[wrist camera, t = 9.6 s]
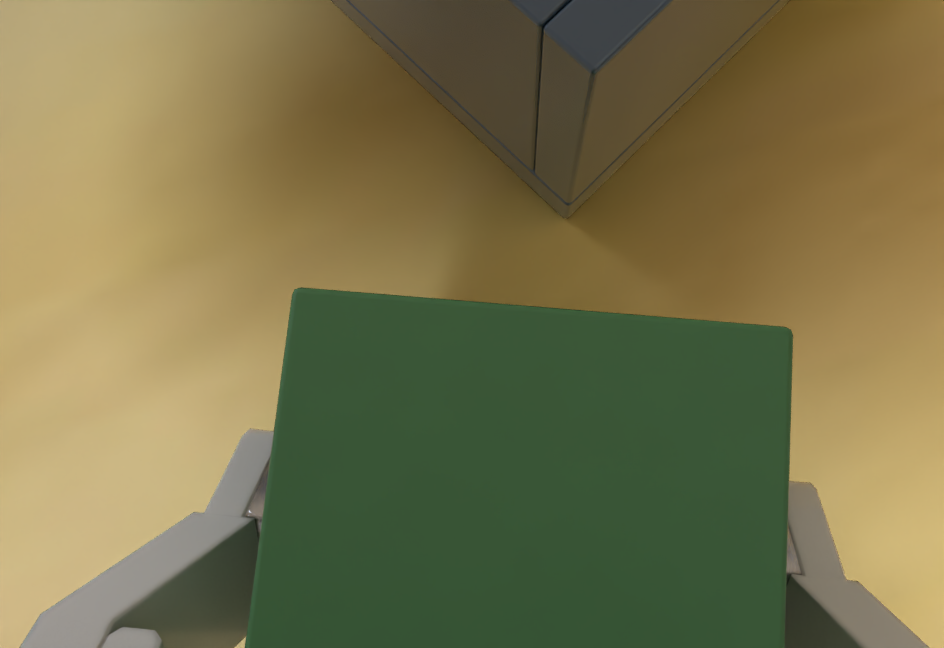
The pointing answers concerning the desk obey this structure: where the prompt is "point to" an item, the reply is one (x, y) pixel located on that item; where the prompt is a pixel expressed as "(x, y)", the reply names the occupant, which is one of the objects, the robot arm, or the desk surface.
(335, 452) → the green block
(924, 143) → the desk surface
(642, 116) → the dark blue tray
